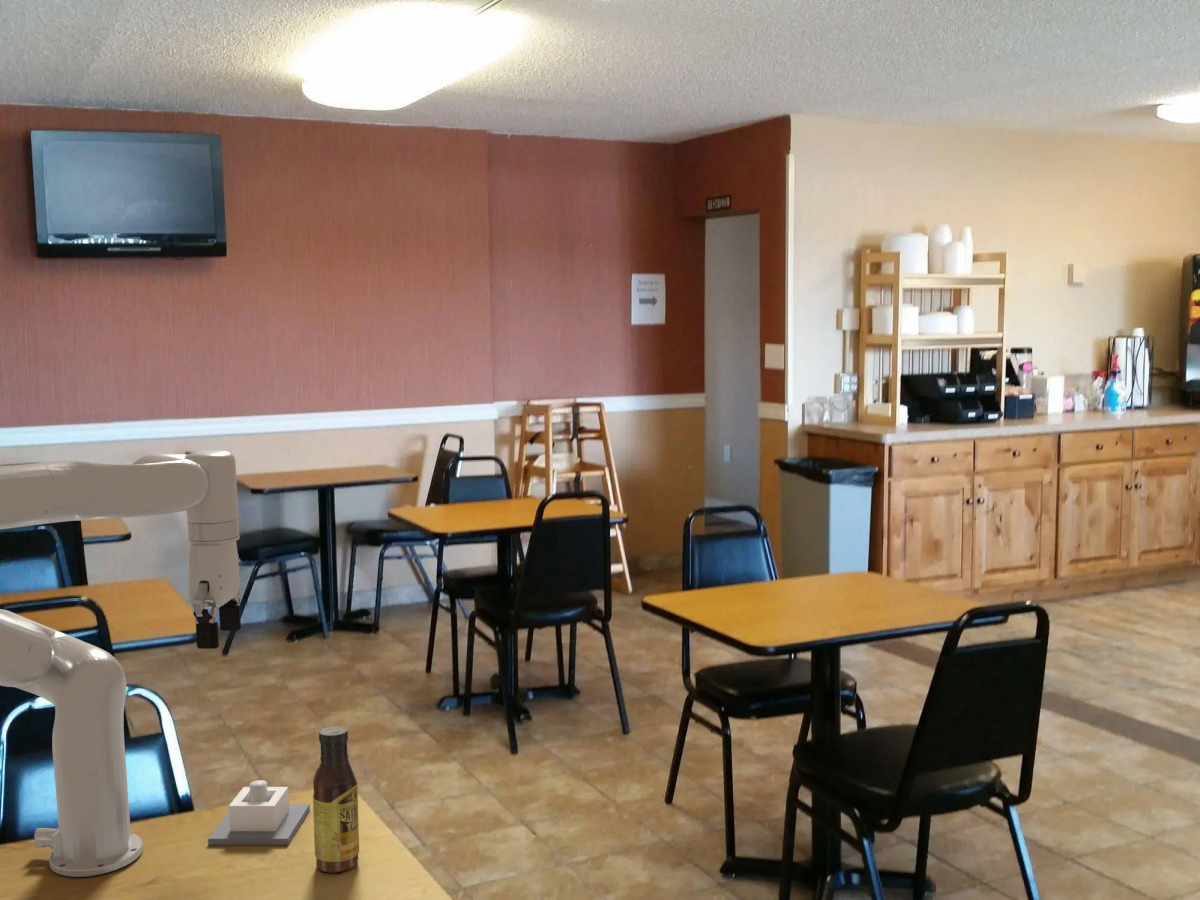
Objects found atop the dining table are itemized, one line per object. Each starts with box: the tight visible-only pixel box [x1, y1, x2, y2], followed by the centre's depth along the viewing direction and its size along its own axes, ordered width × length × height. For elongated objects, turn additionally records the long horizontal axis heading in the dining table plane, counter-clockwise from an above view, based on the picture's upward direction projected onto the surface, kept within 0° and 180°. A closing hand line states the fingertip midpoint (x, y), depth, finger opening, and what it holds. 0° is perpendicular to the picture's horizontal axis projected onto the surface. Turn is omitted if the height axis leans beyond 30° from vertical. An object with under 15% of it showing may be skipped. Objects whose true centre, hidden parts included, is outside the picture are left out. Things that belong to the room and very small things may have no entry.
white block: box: [228, 786, 290, 831], centre depth 182 cm, size 7×7×4 cm
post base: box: [207, 779, 311, 846], centre depth 182 cm, size 12×12×7 cm
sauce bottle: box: [312, 725, 360, 874], centre depth 169 cm, size 7×6×20 cm
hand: (219, 638), depth 185 cm, fingers open, 9 cm apart
